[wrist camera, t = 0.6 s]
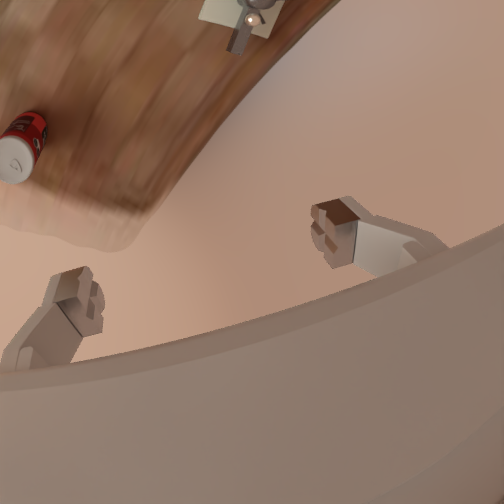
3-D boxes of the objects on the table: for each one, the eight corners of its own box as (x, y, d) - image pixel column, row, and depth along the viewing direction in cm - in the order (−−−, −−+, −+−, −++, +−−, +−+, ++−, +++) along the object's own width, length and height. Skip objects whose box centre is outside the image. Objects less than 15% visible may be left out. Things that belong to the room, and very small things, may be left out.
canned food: (33, 158, 40) (18, 193, 34) (4, 135, 34) (-18, 167, 27) (57, 127, 39) (43, 157, 32) (26, 102, 33) (4, 127, 26)
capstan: (206, -48, 25) (218, -56, 21) (309, -10, 34) (331, -8, 29) (172, 38, 35) (178, 42, 30) (275, 64, 43) (293, 73, 39)
